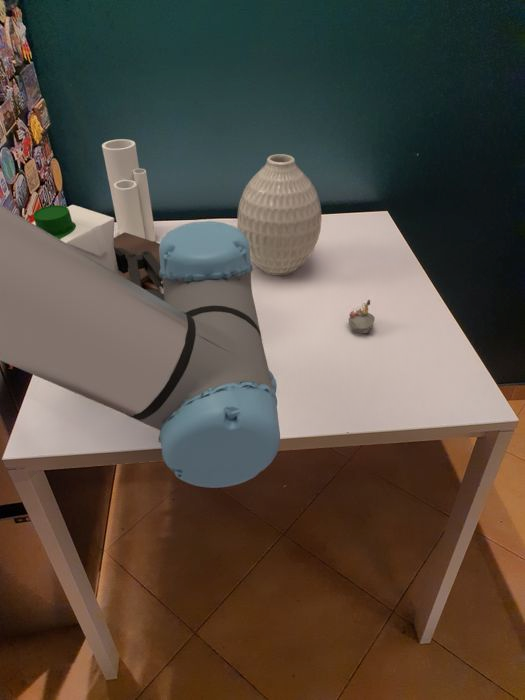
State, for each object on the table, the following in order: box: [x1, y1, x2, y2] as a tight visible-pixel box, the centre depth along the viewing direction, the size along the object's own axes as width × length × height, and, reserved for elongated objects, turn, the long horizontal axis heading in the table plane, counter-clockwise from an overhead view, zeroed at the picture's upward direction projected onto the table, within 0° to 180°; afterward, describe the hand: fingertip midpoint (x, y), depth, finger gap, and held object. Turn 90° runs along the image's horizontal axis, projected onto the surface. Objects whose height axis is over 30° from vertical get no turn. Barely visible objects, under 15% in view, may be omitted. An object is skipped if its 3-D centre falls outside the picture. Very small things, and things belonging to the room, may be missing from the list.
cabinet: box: [114, 232, 160, 287], centre depth 93 cm, size 14×12×10 cm
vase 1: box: [101, 138, 157, 242], centre depth 110 cm, size 11×7×20 cm, turn 27°
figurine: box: [348, 299, 376, 334], centre depth 89 cm, size 5×4×6 cm
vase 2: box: [236, 153, 323, 276], centre depth 99 cm, size 16×16×22 cm
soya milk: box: [31, 204, 119, 274], centre depth 68 cm, size 9×9×20 cm
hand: (66, 258), depth 70 cm, fingers closed on soya milk, 9 cm apart
